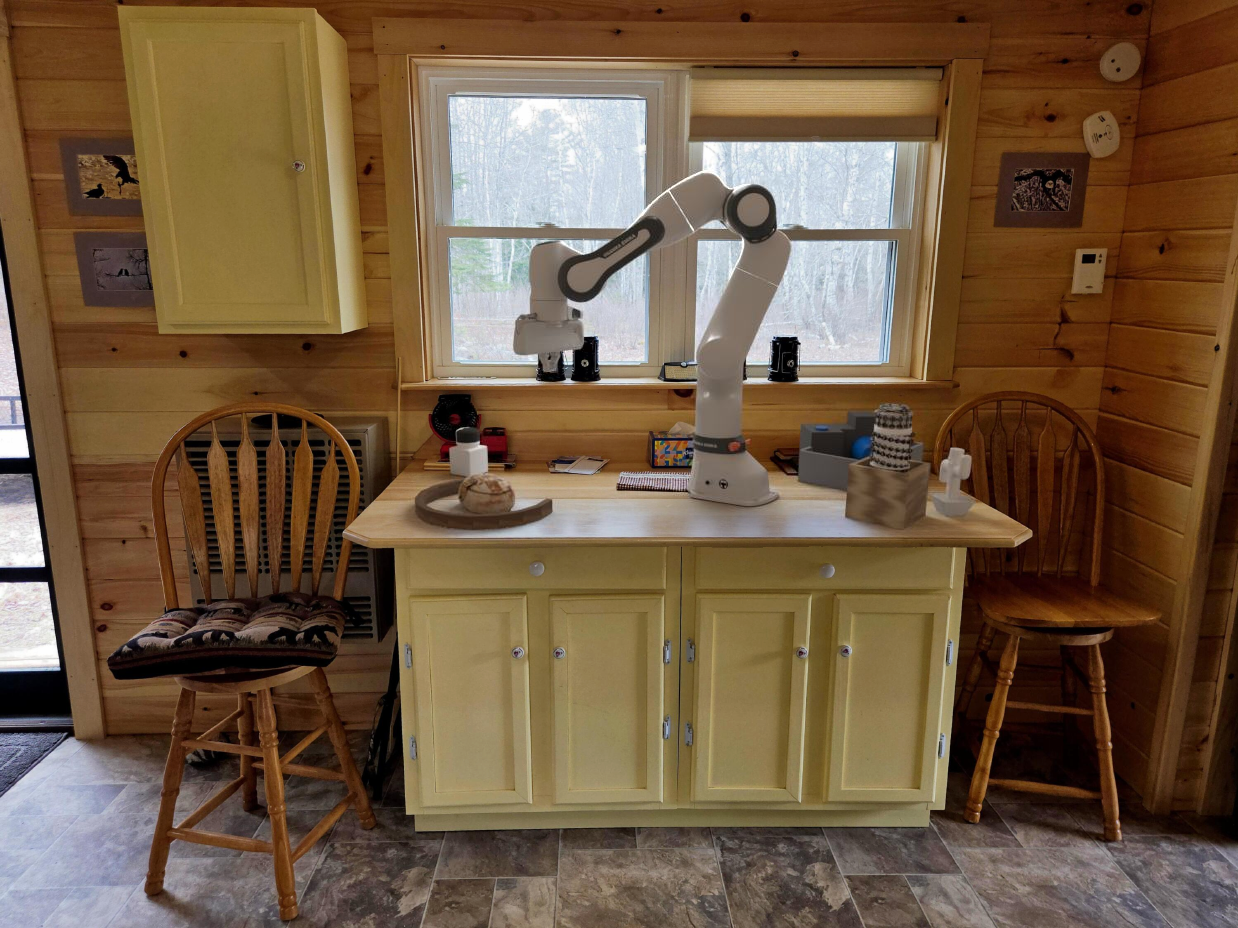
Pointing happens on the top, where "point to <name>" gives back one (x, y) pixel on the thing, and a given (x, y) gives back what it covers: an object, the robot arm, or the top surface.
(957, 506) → the figurine
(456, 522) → the brown curved arc
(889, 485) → the wooden box
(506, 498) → the trinket box
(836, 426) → the camera
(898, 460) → the decorative candle
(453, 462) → the medicine bottle
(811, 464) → the tray
